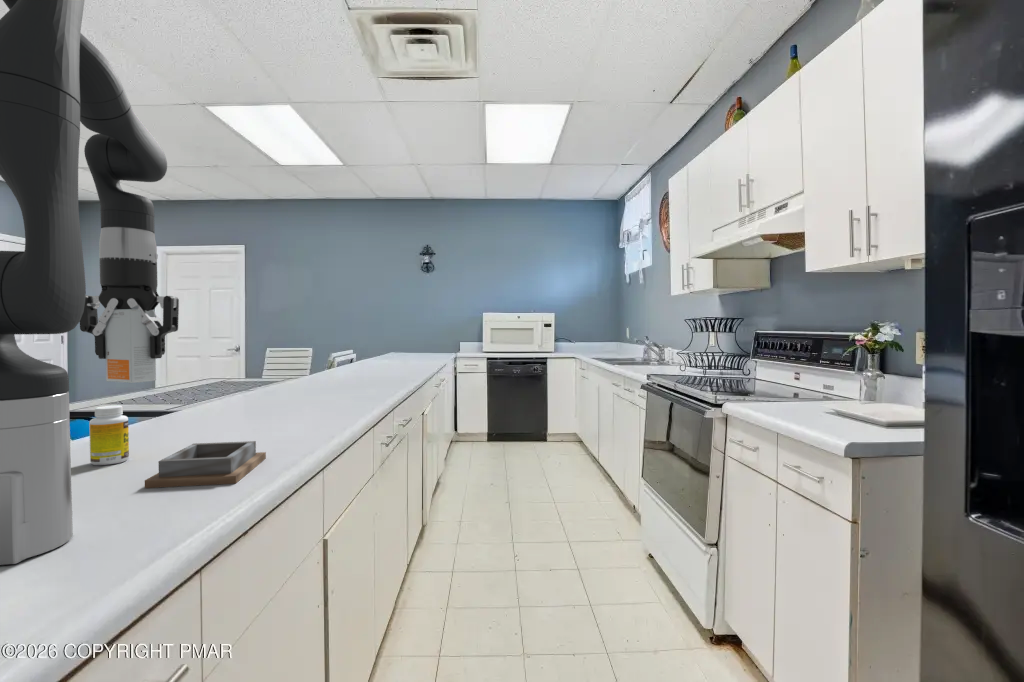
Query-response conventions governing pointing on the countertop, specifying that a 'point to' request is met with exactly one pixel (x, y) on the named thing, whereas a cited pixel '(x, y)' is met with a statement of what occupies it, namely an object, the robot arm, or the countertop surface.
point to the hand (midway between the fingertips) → (131, 358)
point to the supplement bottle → (109, 436)
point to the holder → (207, 464)
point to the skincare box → (128, 348)
